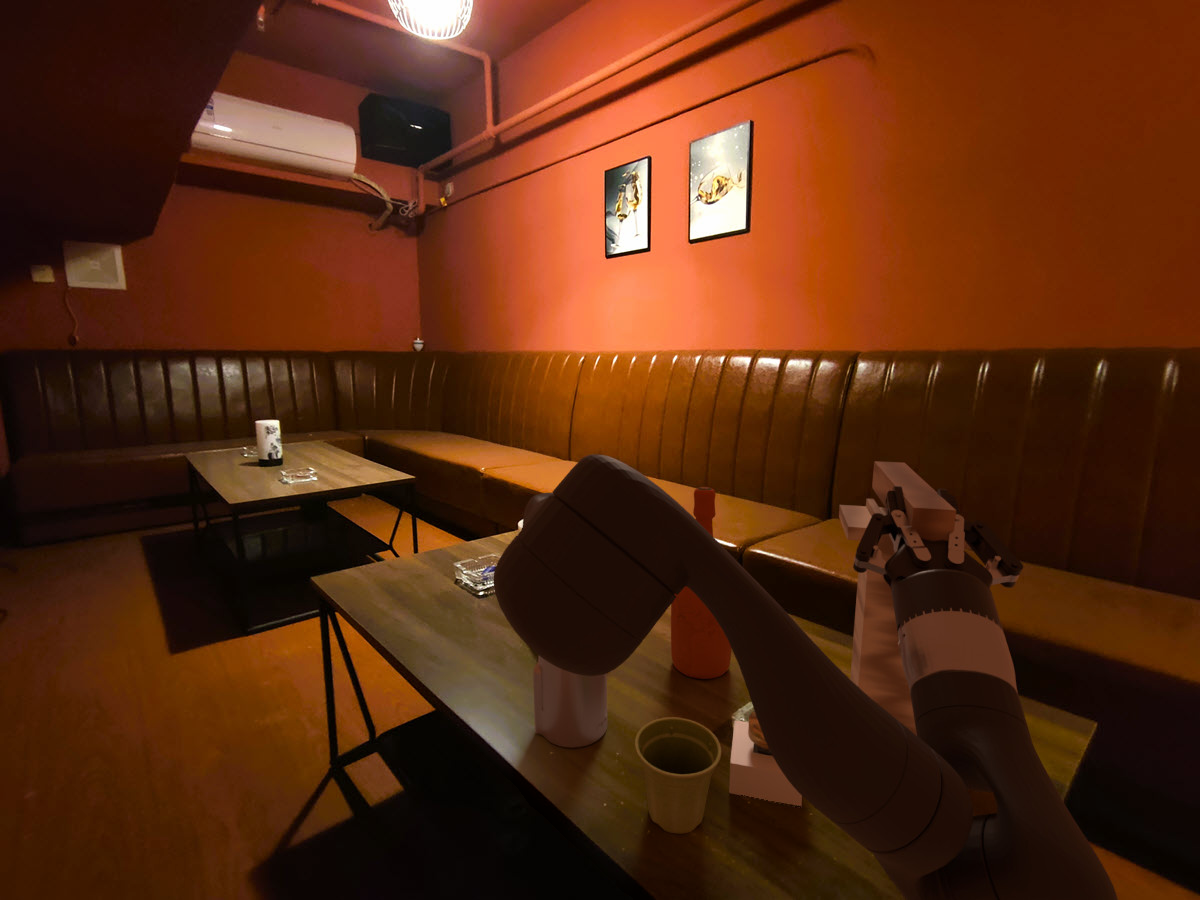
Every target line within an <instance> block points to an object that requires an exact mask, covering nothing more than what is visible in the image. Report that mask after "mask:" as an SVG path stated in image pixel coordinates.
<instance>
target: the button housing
mask: <svg viewBox="0 0 1200 900" xmlns="http://www.w3.org/2000/svg"><path fill="white" fill-rule="evenodd" d="M733 725H734V726H733V734H732V743H731V751H730V752H731V753H730V760H729V761H730V763H729V764H730V765H729V789H728V790H729V791H728V792H729V794H733V795H737V796H741V795H743V796H742V797H746V796H749V797H748V798H751V797H754V798H753V799H756V798H759V799H758V800H761V799H764V800H763V801H766V800H768V801H767V802H771V801H775V802H774V803H776V802H781V803H787V804H793V805H797V806H798V805H799V806H801V807H802V804H803V803H802V800H803V796H802V795H801V794H800V793H799V792H798V791H797V790H796V789H795V788H794V787H793V786H792V784H791V783H790V782H789V781H788V779H787V778H786V776H785V775H784V774H783V772H782V771H781V769H780V768H779V766H778V764H777V763H776V761H775V759H774V757H773V756H770V755H764V754H759V753H758V745H756V744H755V743H753V742H752V741H751V740H750V738H749V736H748V725H749V721H748V722H747V721H741V720H736V719H735V720H734V724H733ZM744 795H745V796H744ZM781 803H780V804H781Z"/></svg>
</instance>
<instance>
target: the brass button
mask: <svg viewBox="0 0 1200 900" xmlns="http://www.w3.org/2000/svg"><path fill="white" fill-rule="evenodd" d="M748 723H749V725H748V736H749V738H750V740H751V741H752V742H753V743H755V744H756V745H758V753H759V754H764V755H770V756H772V754H771V752H770V750H769V748H768V746H767V743H766V741H765V739H764V736H763V733H762V730H761V728H760V725H759V722H758V720H757V717H756V714H755V711H753V712H751V713H749V716H748Z"/></svg>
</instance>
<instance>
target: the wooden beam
mask: <svg viewBox="0 0 1200 900" xmlns="http://www.w3.org/2000/svg"><path fill="white" fill-rule="evenodd" d="M894 486H901V487H902V490H903V498H904V503H905V508H906V512H905V515H906V517H907V519H908V521H909V526H911V528H915V529H916V531H917V533H918V535H919V537H920V539H926V540H930V541H938V540H945V541H948V535H949V531H954V526H955V518H956V510H955V509H954V508H953V507H952V506H951V505H950V504H949V503H948V502H947V501H946V500H944V499H943V498H942V497H941V496H940V495H939V494H937V491H936V490H935V489H934V488H933V487H931V485H929V483H927V482H926V481H925V480H924V479H923V478H922V477H921V476H920V475H918V473H916V472H915V471H914V470H913V469H912V468H911V467H909V465H908V464H906V462H900V461H899V462H895V461H876V460H875V461H873V475H872V487H871V488H872V490H873V491H874V493H875V494H876V496H877V498H878V499H879V500H880V501H881V503H882V505H883V506H884V507H885V501H886V497H887V493H888V491H892V490H893V487H894Z"/></svg>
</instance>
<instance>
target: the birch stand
mask: <svg viewBox="0 0 1200 900" xmlns="http://www.w3.org/2000/svg"><path fill="white" fill-rule="evenodd" d="M838 510H839V511H838V517H839V520H840V524H841V525H842V529H843V531H844V534H845V537H846V539H847V540H848V541H859V542H860V541H861V539H862V537H863V534H864V532H865V530H866V528H867V526H868V524H869V522H870V519H871V517H872V515H873V514H875V513H880V514H883V515H887V514H886V507H881V506H879V505H878V503H877V502H876V501H875V499H874V498H866V500H865V505H864V506H863V505H850V504H847V505H846V504H839V509H838ZM877 546H878V547H879V550H880V551H881V552H882V555H881V556H882V558H883V560H885V561H888V560H889V559H890V558H891V557H892V556H893V555H894V554H895V552H894V545H893V542H892V540H891V538H890V536H889V534H885V535H882V536H881V538H880V541H879V543H878V545H877ZM964 550H972V549H971V548H970V546H969V545H968V544H967V542H966V541H964ZM855 600H856V601H855V602H856V603H855V613H854V625H853V640H852V651H851V652H852V655H851V664H850V665H851V666H850V678H849V679H850V680H851V681H852V682H853V683H854V684H856V685H857V686H858V687H859V688H860V689H861V690H862V691H863V692H864V693H866V694H867V695H868V696H869V697H870V698H871V699H872V700H874V701H875V702H876V703H877V704H879V705H880V706H881V707H882V708H883V709H885V710H886V711H887V712H888V713H890V714H891V715H892V716H893V717H895V718H896V719H897V720H898V721H899V722H901V723H902V724H903V725H904V726H905V727H907V728H908V729H909V730H910V731H911V732H913V733H914V734H915V735H916V736H917V732H916V726H915V720H914V714H913V707H912V701H911V694H910V690H909V686H908V682H907V679H906V676H905V673H904V669H903V664H902V659H901V655H900V653H899V647H898V643H899V638H898V632H897V625H896V619H895V612H894V605H893V599H892V592H891V588H890V586H889V585H888V584H887V583H886V581H885V580H884V578H883V575H882V574H879V573H876V572H874V571H871V570H868V569H867V570H866V572H864V573H859V572H857V587H856V599H855Z"/></svg>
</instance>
